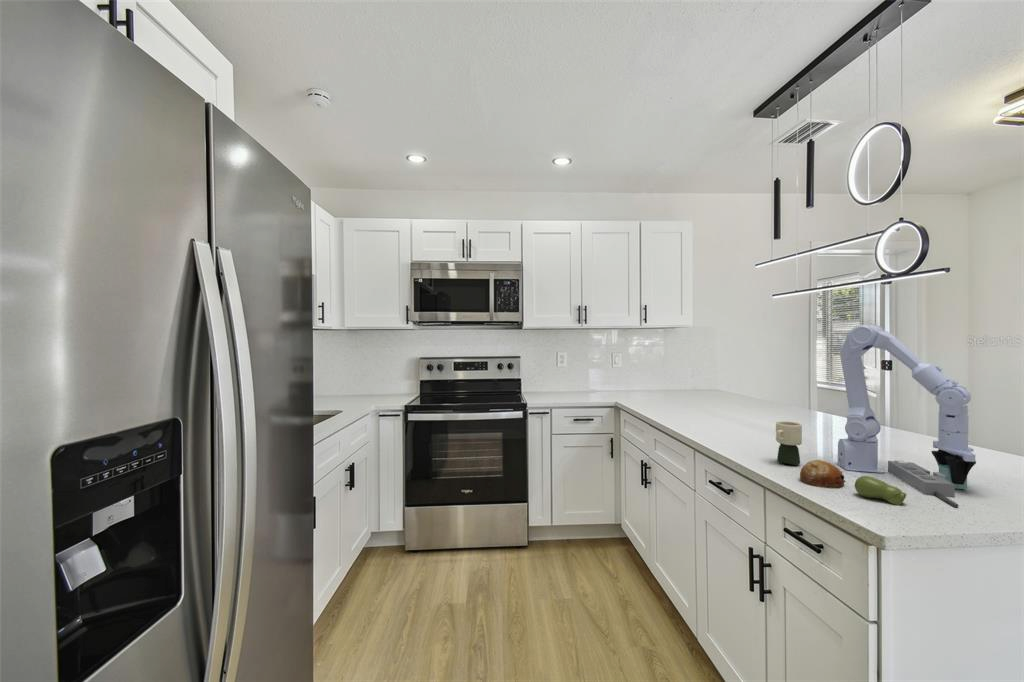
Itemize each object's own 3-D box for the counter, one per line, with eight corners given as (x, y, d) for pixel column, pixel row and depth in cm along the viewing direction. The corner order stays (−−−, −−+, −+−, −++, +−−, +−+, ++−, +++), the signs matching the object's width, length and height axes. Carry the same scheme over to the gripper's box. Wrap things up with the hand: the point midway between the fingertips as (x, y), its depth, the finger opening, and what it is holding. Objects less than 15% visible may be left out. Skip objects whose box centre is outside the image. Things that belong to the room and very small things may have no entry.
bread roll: (809, 488, 130) (796, 461, 132) (849, 479, 124) (834, 451, 126) (805, 497, 122) (791, 469, 124) (847, 489, 116) (832, 459, 118)
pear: (860, 470, 116) (910, 486, 109) (855, 489, 117) (905, 506, 110) (854, 475, 113) (906, 492, 105) (850, 494, 113) (901, 512, 106)
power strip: (944, 506, 106) (945, 491, 106) (887, 471, 133) (887, 458, 133) (977, 509, 104) (977, 493, 104) (912, 473, 131) (912, 460, 131)
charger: (940, 487, 119) (940, 468, 118) (931, 482, 123) (931, 464, 122) (967, 489, 117) (967, 470, 117) (957, 484, 121) (957, 465, 121)
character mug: (788, 458, 147) (788, 419, 147) (810, 464, 141) (810, 423, 140) (766, 463, 142) (766, 422, 142) (788, 469, 136) (788, 427, 136)
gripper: (991, 437, 111) (990, 491, 111) (955, 426, 125) (954, 474, 125) (955, 436, 113) (954, 488, 114) (923, 424, 127) (923, 471, 127)
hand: (952, 481), depth 119 cm, fingers closed on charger, 4 cm apart
